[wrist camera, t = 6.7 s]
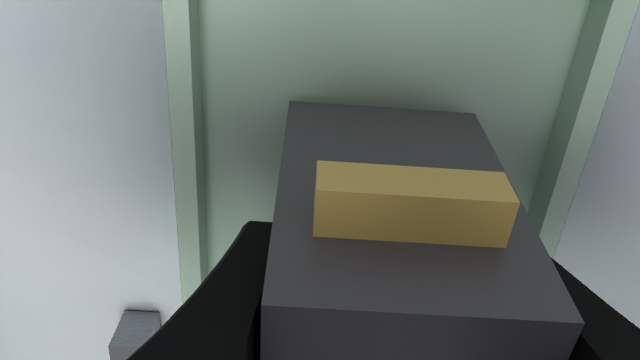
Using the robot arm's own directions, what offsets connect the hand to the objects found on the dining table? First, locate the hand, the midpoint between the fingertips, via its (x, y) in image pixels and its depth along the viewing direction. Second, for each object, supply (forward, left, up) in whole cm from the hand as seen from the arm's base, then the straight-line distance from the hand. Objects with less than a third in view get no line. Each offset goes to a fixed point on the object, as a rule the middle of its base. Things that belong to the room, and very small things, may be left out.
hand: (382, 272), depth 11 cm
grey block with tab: (0, +1, -3) cm, 3 cm away
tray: (0, 0, -4) cm, 4 cm away
